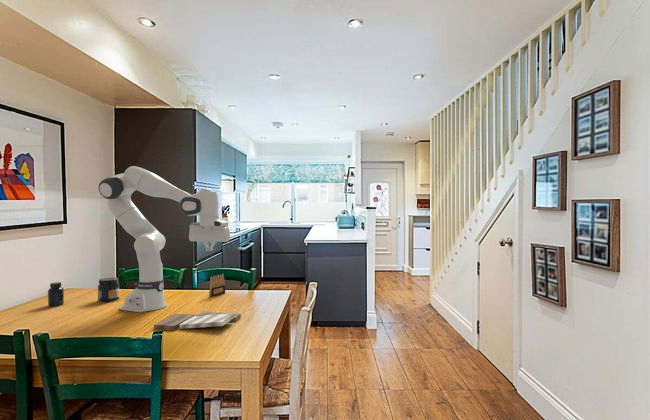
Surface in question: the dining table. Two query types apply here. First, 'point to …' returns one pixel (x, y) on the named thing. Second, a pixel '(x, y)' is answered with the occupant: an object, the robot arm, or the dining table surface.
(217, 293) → the ammunition clip
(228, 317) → the ash plank
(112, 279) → the supplement container
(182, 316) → the walnut boards
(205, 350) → the dining table surface
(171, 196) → the robot arm
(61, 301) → the supplement bottle
